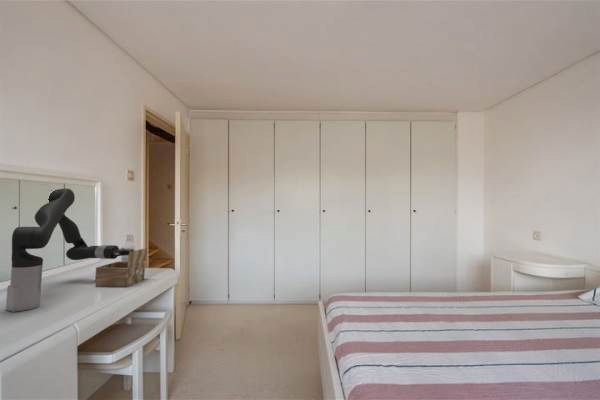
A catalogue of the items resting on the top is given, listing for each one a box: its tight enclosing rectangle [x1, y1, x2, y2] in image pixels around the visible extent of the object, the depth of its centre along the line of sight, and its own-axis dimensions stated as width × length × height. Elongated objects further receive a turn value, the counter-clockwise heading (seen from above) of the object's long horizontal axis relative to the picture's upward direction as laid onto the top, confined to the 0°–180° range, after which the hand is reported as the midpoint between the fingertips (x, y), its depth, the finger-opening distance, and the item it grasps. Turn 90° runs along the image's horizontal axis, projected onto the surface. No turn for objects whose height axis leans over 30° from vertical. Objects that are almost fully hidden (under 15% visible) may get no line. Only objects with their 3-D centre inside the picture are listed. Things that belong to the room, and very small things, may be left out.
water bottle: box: [120, 234, 136, 262], centre depth 177 cm, size 7×7×25 cm
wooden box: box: [94, 261, 146, 288], centre depth 157 cm, size 19×17×10 cm
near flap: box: [128, 247, 148, 267], centre depth 158 cm, size 17×8×1 cm
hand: (138, 252), depth 158 cm, fingers closed
